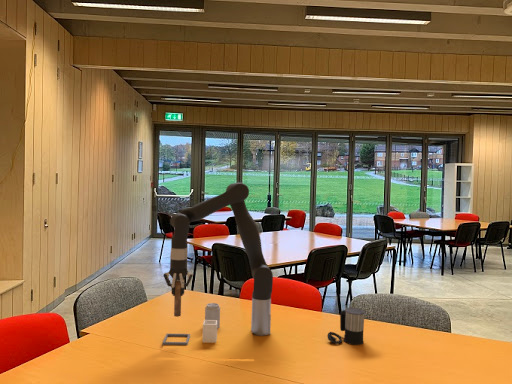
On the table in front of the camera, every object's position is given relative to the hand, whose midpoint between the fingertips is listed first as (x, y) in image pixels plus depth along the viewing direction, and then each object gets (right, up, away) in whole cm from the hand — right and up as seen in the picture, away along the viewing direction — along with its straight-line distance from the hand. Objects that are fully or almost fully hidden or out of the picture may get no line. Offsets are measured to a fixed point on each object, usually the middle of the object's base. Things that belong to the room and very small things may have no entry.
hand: (177, 295), depth 200 cm
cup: (+14, -22, +2) cm, 26 cm away
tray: (-1, -21, +1) cm, 21 cm away
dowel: (0, -9, 0) cm, 9 cm away
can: (+14, -21, +20) cm, 32 cm away
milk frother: (+78, -24, +8) cm, 82 cm away
